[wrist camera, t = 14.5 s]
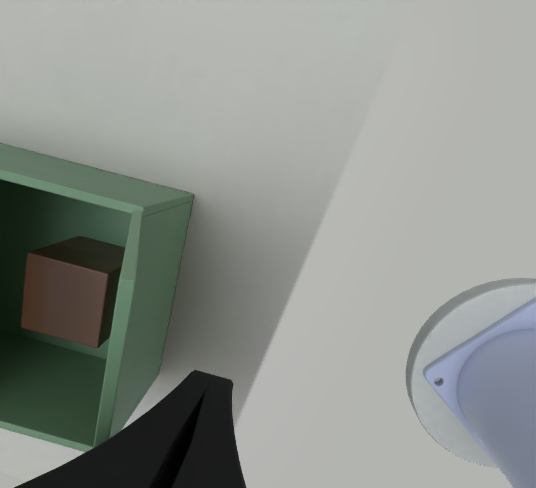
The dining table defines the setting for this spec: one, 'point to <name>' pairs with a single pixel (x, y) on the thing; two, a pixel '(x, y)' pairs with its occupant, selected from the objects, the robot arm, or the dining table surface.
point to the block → (72, 290)
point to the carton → (63, 351)
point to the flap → (118, 331)
